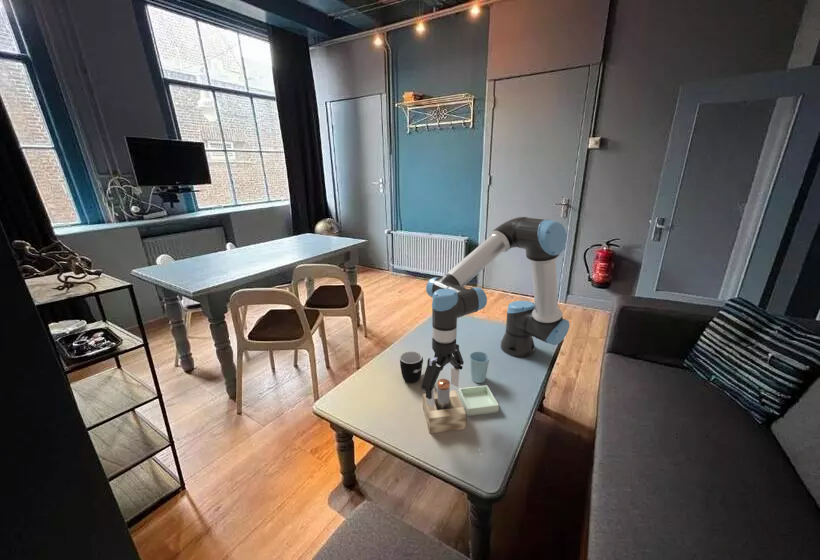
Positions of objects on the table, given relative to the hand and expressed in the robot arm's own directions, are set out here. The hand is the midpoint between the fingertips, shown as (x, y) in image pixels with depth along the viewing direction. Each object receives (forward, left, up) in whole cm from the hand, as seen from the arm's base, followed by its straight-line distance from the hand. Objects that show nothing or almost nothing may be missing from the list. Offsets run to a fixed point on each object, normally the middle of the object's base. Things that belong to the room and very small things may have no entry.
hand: (443, 394), depth 108 cm
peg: (0, 0, -10) cm, 10 cm away
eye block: (0, 0, -10) cm, 10 cm away
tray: (-14, -5, -10) cm, 18 cm away
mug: (+6, -25, -10) cm, 27 cm away
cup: (-19, -19, -10) cm, 29 cm away
